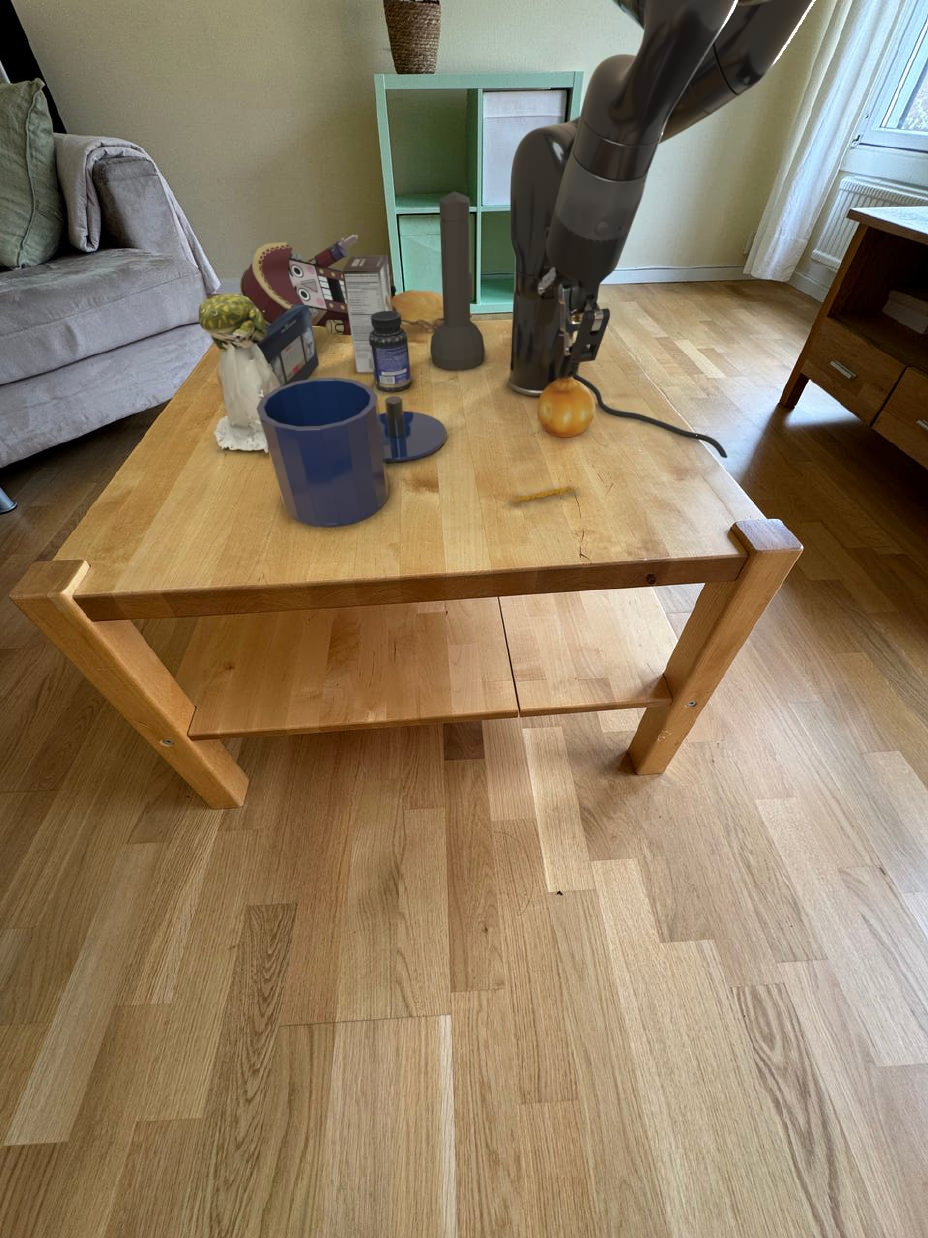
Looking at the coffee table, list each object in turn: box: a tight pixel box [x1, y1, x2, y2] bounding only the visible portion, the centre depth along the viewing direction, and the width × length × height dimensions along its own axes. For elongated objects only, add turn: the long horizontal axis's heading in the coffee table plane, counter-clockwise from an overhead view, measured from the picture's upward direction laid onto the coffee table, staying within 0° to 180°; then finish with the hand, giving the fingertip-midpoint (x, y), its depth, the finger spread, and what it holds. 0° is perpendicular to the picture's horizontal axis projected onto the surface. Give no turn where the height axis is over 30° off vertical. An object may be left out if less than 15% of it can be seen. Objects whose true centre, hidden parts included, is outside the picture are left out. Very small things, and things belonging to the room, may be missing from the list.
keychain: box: [514, 486, 573, 503], centre depth 72 cm, size 8×1×1 cm, turn 109°
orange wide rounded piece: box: [392, 289, 474, 334], centre depth 113 cm, size 17×4×10 cm
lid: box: [379, 395, 447, 463], centre depth 81 cm, size 14×14×6 cm
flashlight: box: [429, 190, 486, 371], centre depth 95 cm, size 10×25×10 cm
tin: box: [257, 377, 389, 528], centre depth 68 cm, size 13×13×12 cm
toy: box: [239, 234, 397, 336], centre depth 102 cm, size 14×13×30 cm
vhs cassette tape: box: [257, 304, 320, 387], centre depth 93 cm, size 18×3×10 cm, turn 167°
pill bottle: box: [369, 310, 412, 393], centre depth 93 cm, size 6×6×11 cm
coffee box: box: [341, 254, 394, 373], centre depth 98 cm, size 9×6×16 cm
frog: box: [197, 293, 280, 454], centre depth 78 cm, size 12×13×18 cm
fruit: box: [536, 377, 596, 438], centre depth 82 cm, size 8×8×8 cm
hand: (553, 348), depth 69 cm, fingers open, 8 cm apart
